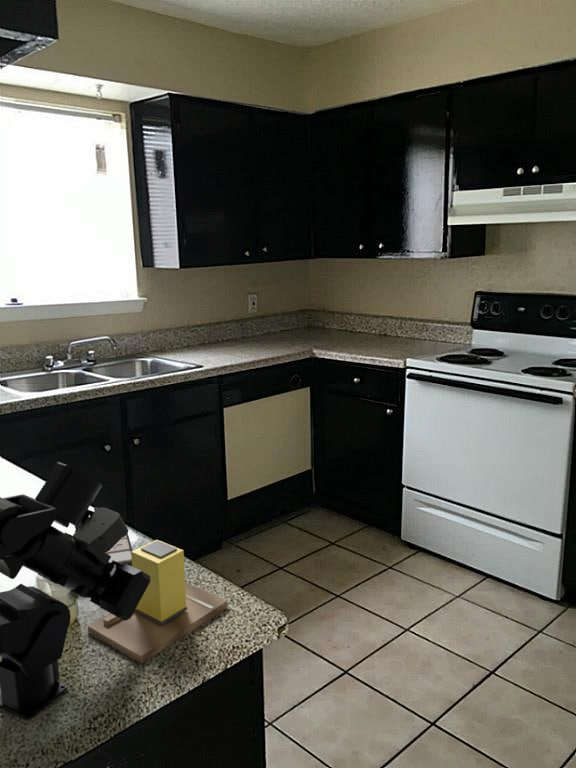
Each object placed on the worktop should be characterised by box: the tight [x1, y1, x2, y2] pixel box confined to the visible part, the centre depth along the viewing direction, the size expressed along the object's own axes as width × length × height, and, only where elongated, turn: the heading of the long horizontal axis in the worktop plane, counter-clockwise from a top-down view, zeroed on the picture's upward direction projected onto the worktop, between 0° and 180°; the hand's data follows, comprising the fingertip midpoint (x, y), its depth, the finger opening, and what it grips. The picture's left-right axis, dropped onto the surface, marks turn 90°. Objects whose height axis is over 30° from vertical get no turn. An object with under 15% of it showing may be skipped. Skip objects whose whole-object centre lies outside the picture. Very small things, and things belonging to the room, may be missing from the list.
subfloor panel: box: [87, 581, 229, 665], centre depth 101 cm, size 18×12×2 cm
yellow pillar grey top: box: [131, 539, 187, 625], centre depth 100 cm, size 5×6×10 cm
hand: (128, 595), depth 96 cm, fingers closed
